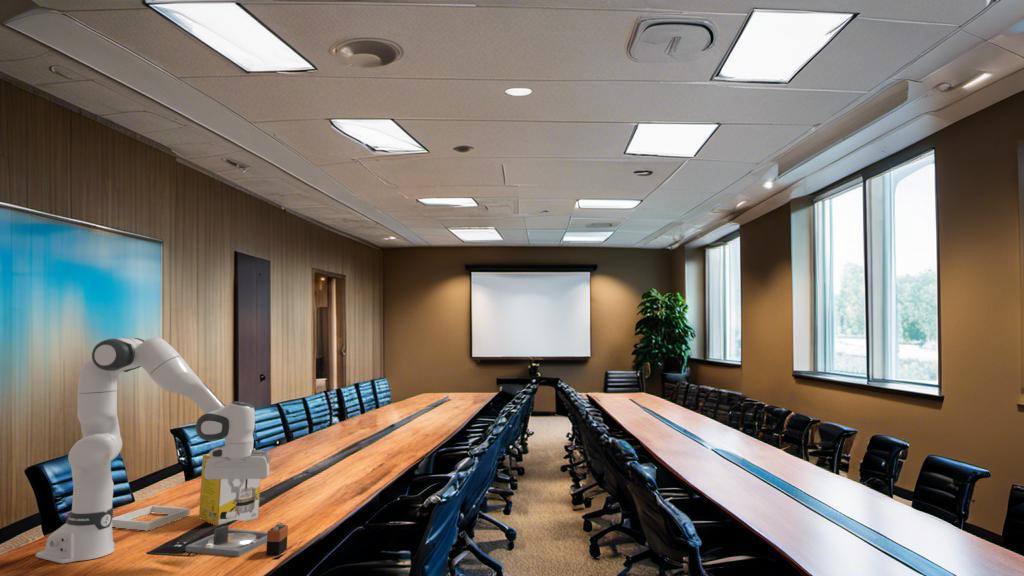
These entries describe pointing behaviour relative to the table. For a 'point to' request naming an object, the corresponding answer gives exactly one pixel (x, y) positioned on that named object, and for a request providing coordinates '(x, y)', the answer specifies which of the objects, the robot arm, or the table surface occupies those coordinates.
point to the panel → (209, 548)
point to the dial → (230, 539)
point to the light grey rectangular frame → (127, 523)
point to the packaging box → (227, 499)
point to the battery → (277, 540)
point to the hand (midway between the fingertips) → (235, 492)
